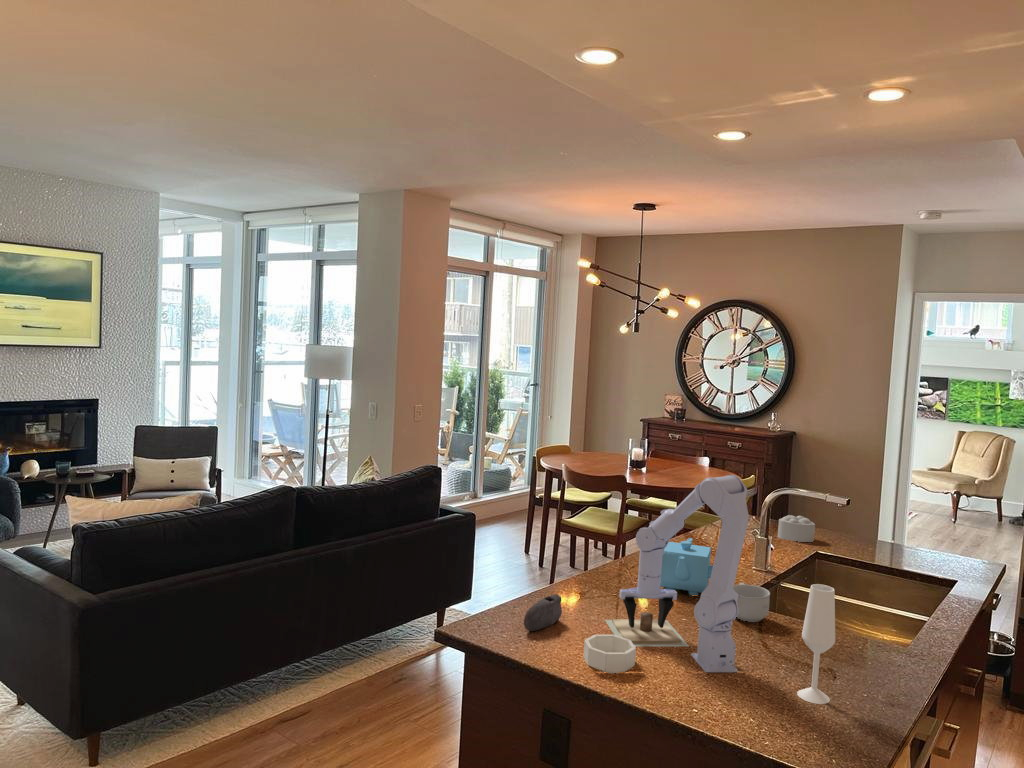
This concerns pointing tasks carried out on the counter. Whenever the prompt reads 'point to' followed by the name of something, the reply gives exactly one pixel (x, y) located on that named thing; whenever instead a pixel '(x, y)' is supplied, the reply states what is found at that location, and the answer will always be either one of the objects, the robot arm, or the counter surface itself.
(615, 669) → the bowl
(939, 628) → the counter surface
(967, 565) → the counter surface
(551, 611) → the perforated stone tool
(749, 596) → the teacup
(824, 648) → the champagne flute
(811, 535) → the lumpy-topped squat cylinder
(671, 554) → the teakettle
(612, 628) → the mat
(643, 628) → the cover
